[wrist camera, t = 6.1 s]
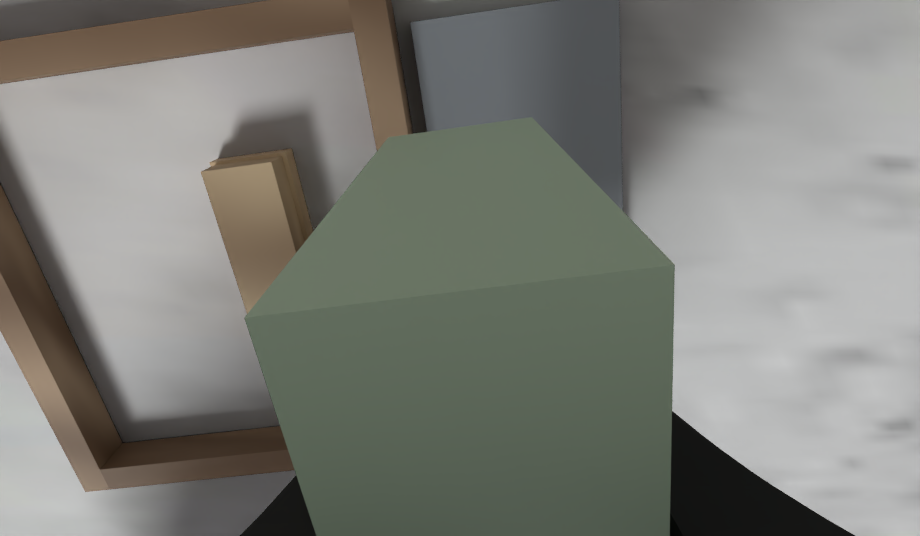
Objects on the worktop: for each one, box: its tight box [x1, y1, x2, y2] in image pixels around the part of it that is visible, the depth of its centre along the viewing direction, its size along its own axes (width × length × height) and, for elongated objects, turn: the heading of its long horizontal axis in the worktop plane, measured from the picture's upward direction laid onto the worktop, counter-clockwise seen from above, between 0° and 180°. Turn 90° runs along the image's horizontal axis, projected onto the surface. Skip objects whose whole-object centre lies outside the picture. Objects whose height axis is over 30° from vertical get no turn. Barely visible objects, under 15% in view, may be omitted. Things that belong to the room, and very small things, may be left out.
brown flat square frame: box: [0, 0, 413, 492], centre depth 18 cm, size 16×15×2 cm
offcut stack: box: [201, 148, 313, 314], centre depth 18 cm, size 8×2×2 cm, turn 8°
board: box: [245, 117, 675, 536], centre depth 9 cm, size 9×3×8 cm, turn 8°
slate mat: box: [410, 0, 623, 211], centre depth 18 cm, size 14×6×1 cm, turn 8°
